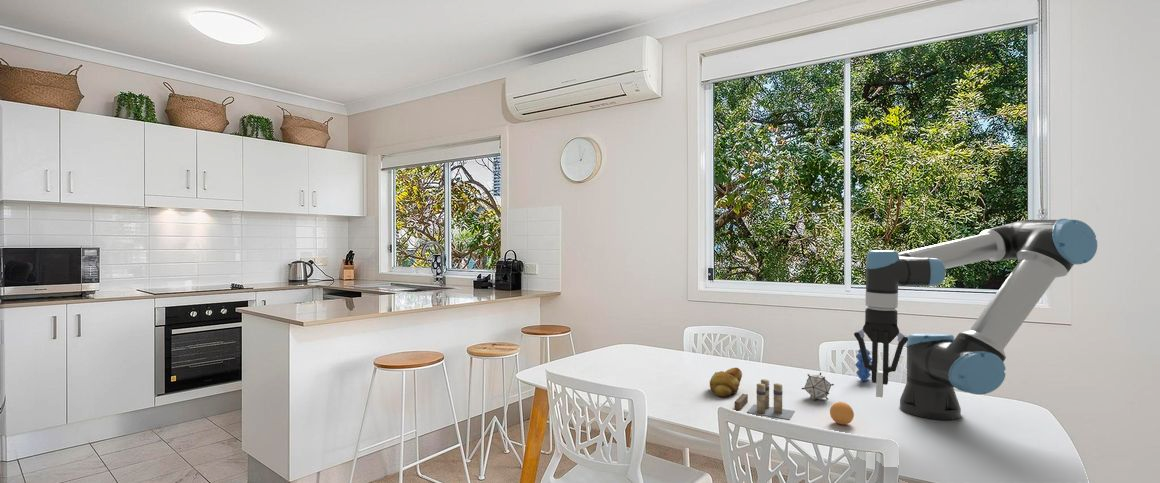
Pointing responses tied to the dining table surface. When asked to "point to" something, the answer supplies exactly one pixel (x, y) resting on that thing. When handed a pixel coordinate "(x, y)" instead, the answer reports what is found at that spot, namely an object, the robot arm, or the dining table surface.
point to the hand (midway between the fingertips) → (879, 395)
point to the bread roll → (726, 382)
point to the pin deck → (772, 412)
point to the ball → (841, 413)
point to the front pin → (778, 398)
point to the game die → (817, 386)
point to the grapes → (863, 371)
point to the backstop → (741, 402)
